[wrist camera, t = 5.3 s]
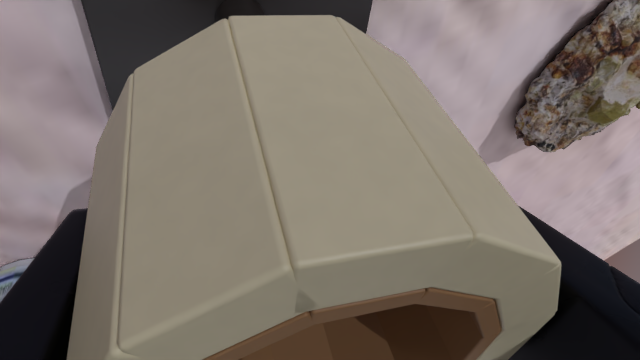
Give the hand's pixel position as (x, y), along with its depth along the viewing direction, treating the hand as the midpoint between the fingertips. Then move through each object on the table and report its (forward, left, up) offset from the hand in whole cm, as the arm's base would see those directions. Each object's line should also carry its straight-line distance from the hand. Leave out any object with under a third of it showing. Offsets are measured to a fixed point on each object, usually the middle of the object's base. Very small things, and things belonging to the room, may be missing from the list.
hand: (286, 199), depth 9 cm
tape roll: (0, 0, -1) cm, 1 cm away
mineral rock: (-3, -19, -10) cm, 22 cm away
